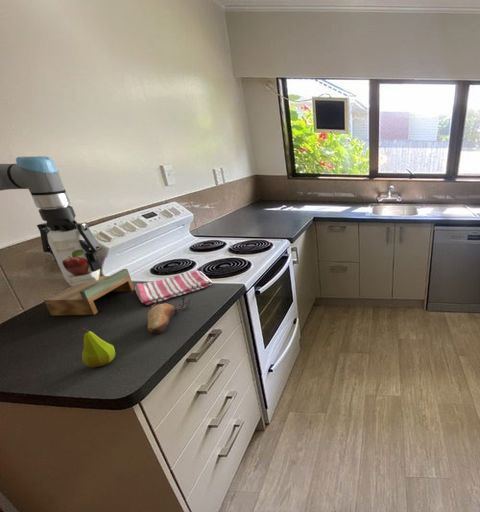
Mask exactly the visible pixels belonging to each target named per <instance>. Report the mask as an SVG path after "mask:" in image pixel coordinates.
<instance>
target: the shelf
mask: <svg viewBox="0 0 480 512" xmlns="http://www.w3.org/2000/svg"><path fill="white" fill-rule="evenodd" d="M134 286H135V285H134V284H133V280H132V278H131V276H130V272H129V269H128V268H123V269H122V268H121V270H119V271H116V272H115V273H113V274H111V275H104V276H103V275H100V276H99V279H98V281H95V282H89V283H84V284H79V285H74V286H70V287H68V288H66V289H64V290H61V291H59V292H57V293H55V294H53V295H51V296H49V297H47V298H45V299H43V302H44V304H45V306H46V308H47V310H48V312H49V314H50V316H94V315H96V314H98V313H99V310H98V309H97V307H96V305H95V300H97V299H99V298H101V297H103V296H105V295H106V294H108V293H110V292H133V291H135V288H134Z"/></svg>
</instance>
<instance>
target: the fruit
mask: <svg viewBox="0 0 480 512" xmlns="http://www.w3.org/2000/svg"><path fill="white" fill-rule="evenodd" d="M80 330H83V331H85V332H84V334H83V350H82V352H81V360H82V363H83V364H84V365H85V366H87V367H90V368H98V367H103V366H106V365H109V363H110V362H112V361H113V360H114V359H115V357H116V352H115V351H116V350H115V346H114V345H113V344H112V343H108V342H107V341H105V340H103V339H102V338H100V337H99V336H98V335H96V334H95V333H94V332H93V331H91V330H88V329H86V328H84V327H81V328H80Z"/></svg>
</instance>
